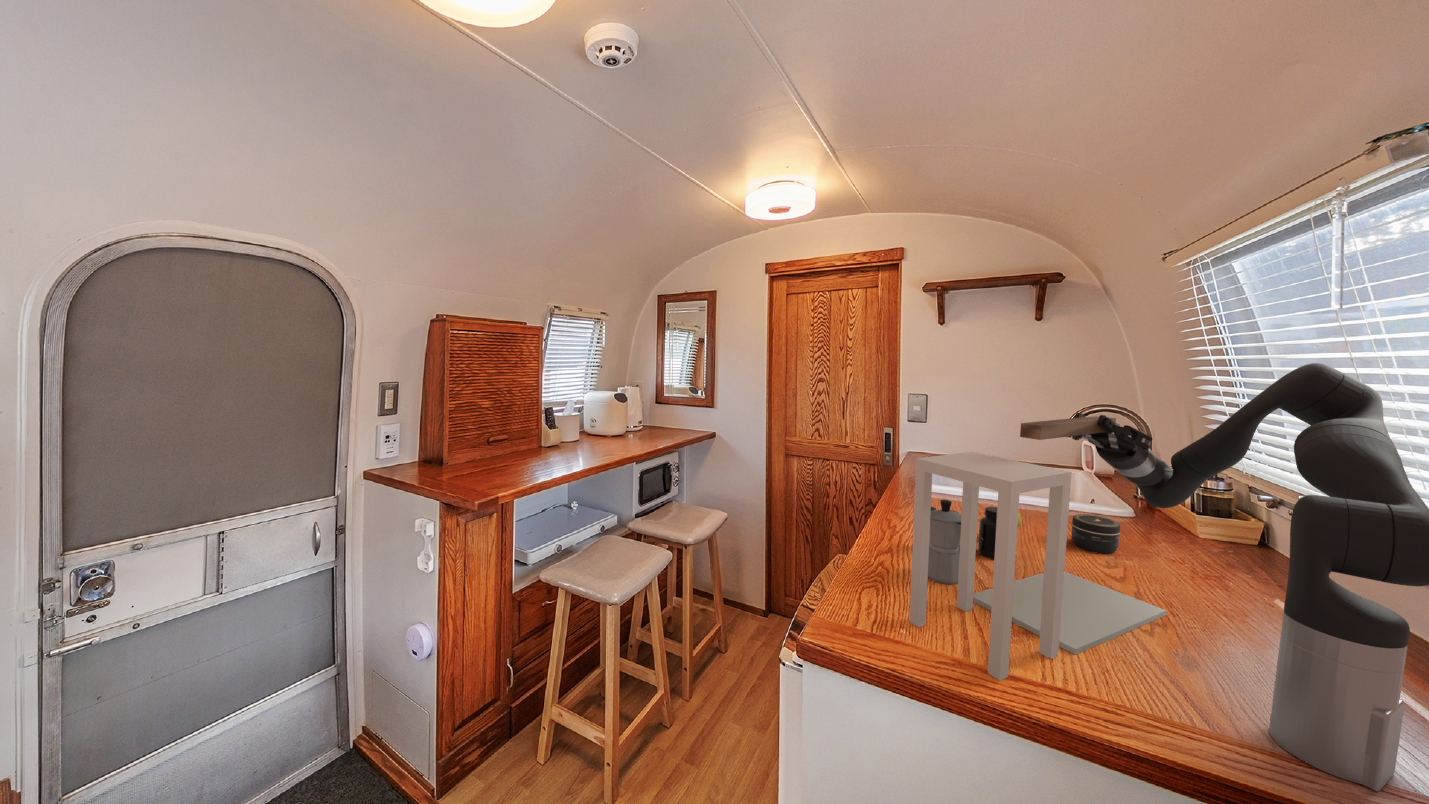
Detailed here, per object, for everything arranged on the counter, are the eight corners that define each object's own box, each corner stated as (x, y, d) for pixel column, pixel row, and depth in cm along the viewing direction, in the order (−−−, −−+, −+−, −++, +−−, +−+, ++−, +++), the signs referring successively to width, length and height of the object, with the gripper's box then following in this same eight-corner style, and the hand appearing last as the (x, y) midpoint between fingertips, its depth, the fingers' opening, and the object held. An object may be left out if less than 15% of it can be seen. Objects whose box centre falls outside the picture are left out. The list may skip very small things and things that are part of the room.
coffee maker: (980, 584, 104) (984, 506, 102) (951, 592, 101) (955, 511, 99) (927, 558, 118) (930, 488, 116) (900, 563, 115) (903, 492, 113)
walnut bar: (1114, 430, 93) (1115, 418, 93) (1040, 439, 84) (1040, 425, 83) (1094, 428, 97) (1095, 416, 96) (1020, 436, 87) (1020, 423, 87)
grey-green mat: (1165, 615, 92) (1166, 610, 91) (1075, 654, 79) (1075, 649, 79) (1056, 572, 110) (1057, 568, 110) (969, 599, 98) (969, 594, 98)
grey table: (1058, 655, 79) (1071, 471, 76) (999, 680, 73) (1011, 481, 70) (963, 604, 95) (971, 451, 92) (909, 621, 89) (916, 458, 86)
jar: (1113, 544, 126) (1116, 517, 125) (1122, 558, 118) (1125, 529, 117) (1067, 537, 131) (1069, 511, 131) (1073, 550, 123) (1075, 522, 122)
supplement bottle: (971, 551, 122) (974, 507, 121) (989, 547, 124) (991, 503, 123) (997, 562, 115) (1000, 515, 114) (1014, 557, 118) (1017, 511, 117)
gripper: (1094, 433, 106) (1056, 398, 99) (1175, 443, 93) (1138, 404, 86) (1082, 463, 105) (1044, 429, 98) (1163, 477, 92) (1124, 440, 85)
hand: (1088, 418), depth 92 cm, fingers closed on walnut bar, 3 cm apart
